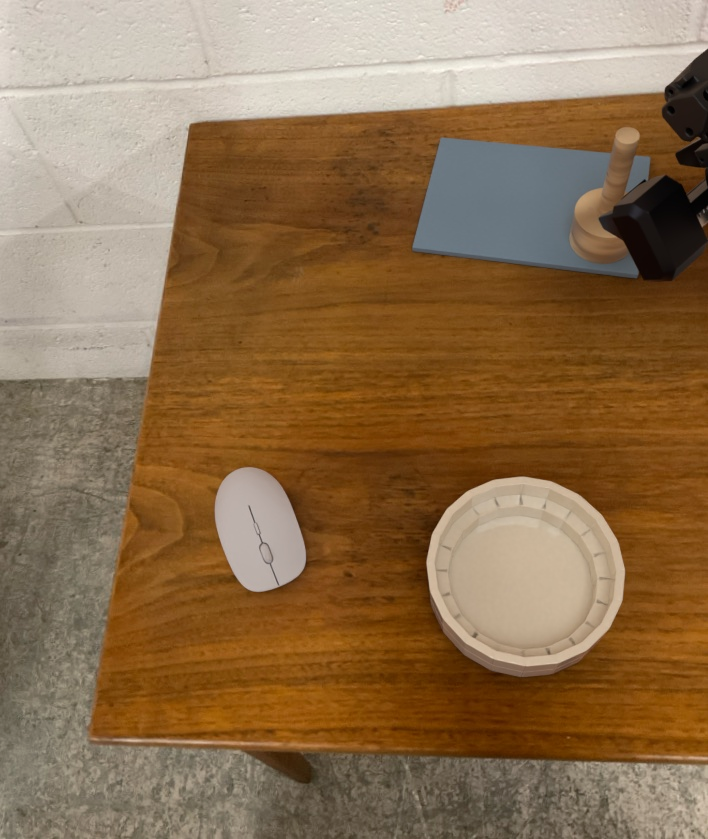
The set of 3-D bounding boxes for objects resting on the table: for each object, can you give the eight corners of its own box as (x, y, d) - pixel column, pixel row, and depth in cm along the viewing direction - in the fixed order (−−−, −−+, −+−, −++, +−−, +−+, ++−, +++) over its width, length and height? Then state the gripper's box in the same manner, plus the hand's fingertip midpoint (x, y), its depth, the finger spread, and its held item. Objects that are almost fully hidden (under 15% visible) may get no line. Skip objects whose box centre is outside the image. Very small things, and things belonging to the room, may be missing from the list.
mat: (649, 161, 76) (650, 156, 75) (637, 279, 70) (638, 274, 69) (440, 141, 80) (440, 137, 79) (412, 251, 74) (412, 247, 73)
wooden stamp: (646, 250, 70) (680, 146, 60) (588, 272, 70) (613, 172, 59) (613, 206, 73) (641, 100, 62) (558, 228, 73) (576, 124, 62)
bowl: (620, 517, 60) (632, 495, 56) (602, 697, 55) (614, 686, 51) (446, 486, 63) (446, 462, 59) (412, 654, 57) (409, 640, 53)
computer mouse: (244, 604, 60) (235, 594, 57) (208, 492, 65) (198, 477, 62) (318, 574, 61) (312, 562, 58) (277, 465, 65) (270, 449, 63)
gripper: (867, -47, 49) (674, 35, 63) (669, 116, 45) (510, 165, 59) (924, 116, 53) (729, 159, 67) (745, 282, 48) (578, 290, 62)
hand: (640, 189), depth 64 cm, fingers open, 9 cm apart
